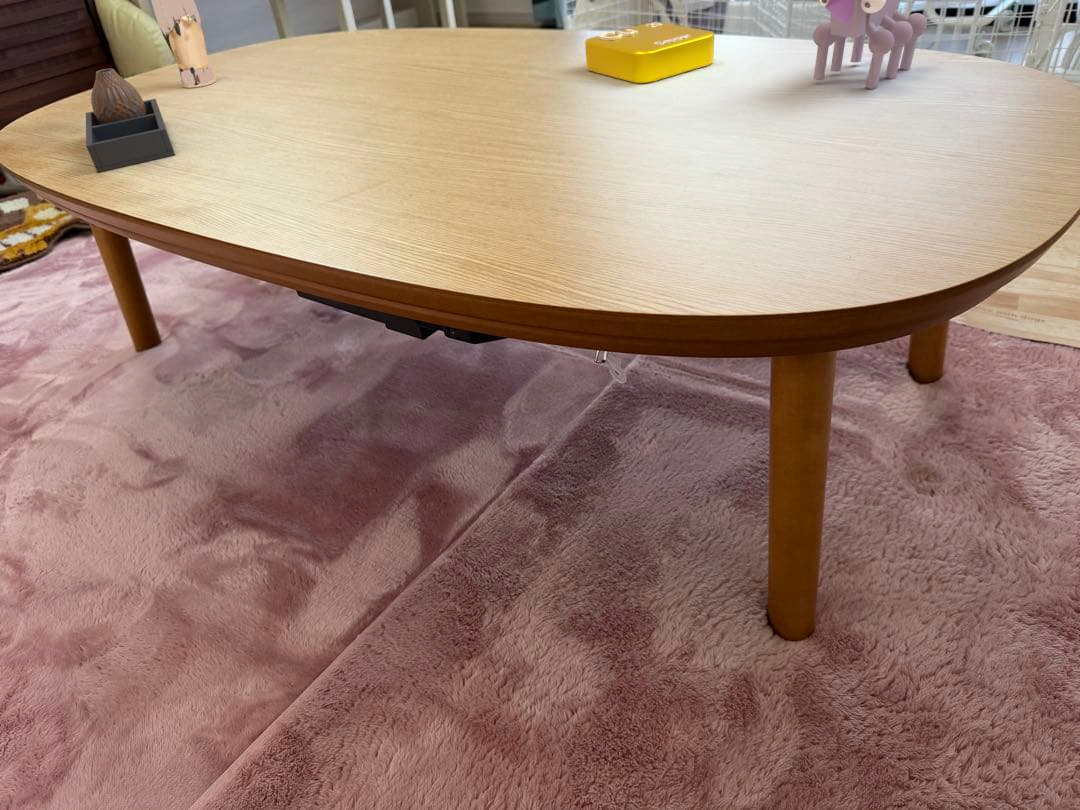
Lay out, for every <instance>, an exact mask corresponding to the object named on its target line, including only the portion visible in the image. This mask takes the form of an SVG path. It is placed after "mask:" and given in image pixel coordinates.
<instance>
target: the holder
mask: <svg viewBox="0 0 1080 810" xmlns="http://www.w3.org/2000/svg"><path fill="white" fill-rule="evenodd" d="M143 102H144V105H145V108H146V113H147V115H144V116H140V117H135V118H130V119H125V120H121V121H116V122H111V123H106V124H102V125H101V124H100V123H99V121H98V120H97V118H96V116H95V114H94V111H93V110H92V111H89V112H85V143H86V144H85V147H86V149H87V152H88V154H89V156H90V158H91V160H92V163H93V165H94V168H95V170H96V172H97V173H101V172H107V171H111V170H115V169H119V168H124V167H128V166H132V165H137V164H141V163H146V162H150V161H155V160H160V159H163V158H167V157H173V156H175V155H176V153H175V150H174V148H173V144H172V141H171V138H170V135H169V132H168V129H167V126H166V124H165V121H164V117H163V115H162V113H161V110H160V107H159V104H158V102H157V99H156V98H152V99H147V100H143Z"/></svg>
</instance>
